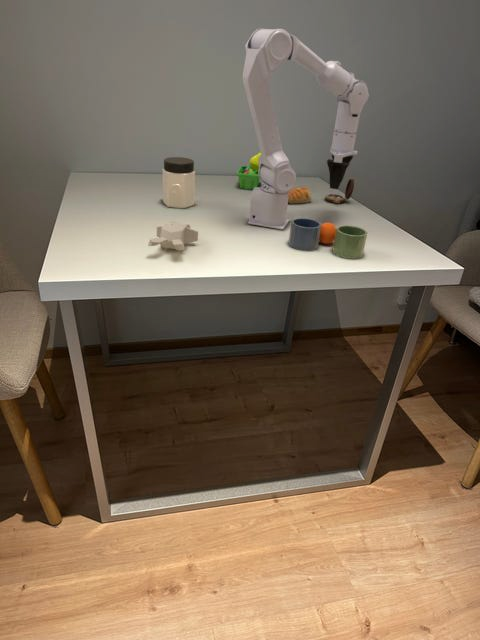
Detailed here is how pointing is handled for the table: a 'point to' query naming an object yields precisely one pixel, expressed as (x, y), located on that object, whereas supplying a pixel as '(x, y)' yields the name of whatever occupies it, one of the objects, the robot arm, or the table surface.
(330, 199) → the compass
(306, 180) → the table surface
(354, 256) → the sage cup
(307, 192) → the pastry
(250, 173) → the fruit basket
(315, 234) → the slate cup
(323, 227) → the ball
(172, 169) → the jar
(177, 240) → the white toy turtle
